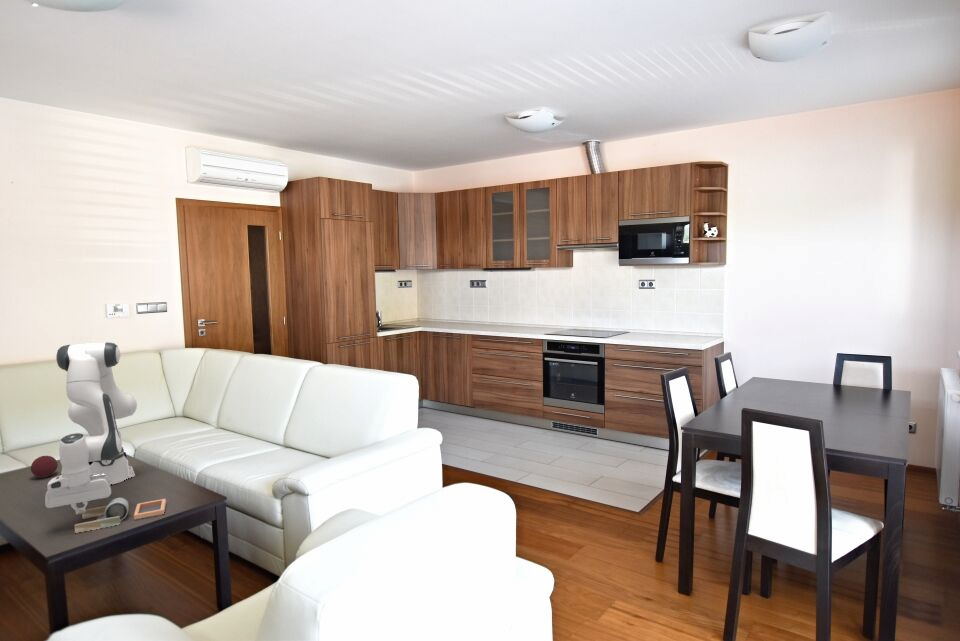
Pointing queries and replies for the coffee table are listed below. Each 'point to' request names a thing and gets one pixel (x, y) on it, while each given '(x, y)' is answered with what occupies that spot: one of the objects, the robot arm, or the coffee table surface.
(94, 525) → the channel walls
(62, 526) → the coffee table surface
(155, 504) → the frame
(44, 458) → the decorative ball
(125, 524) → the coffee table surface
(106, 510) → the ceramic mug
